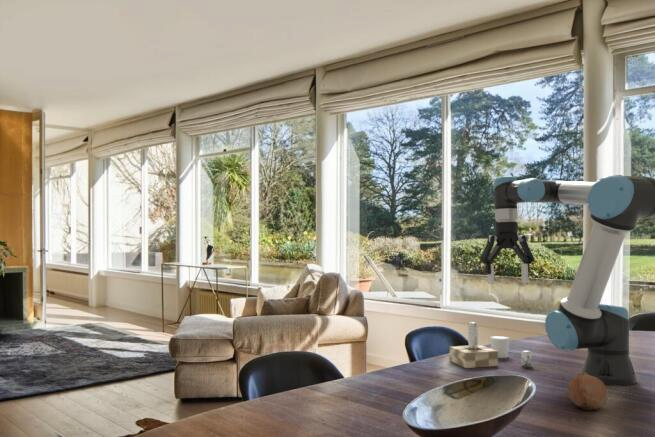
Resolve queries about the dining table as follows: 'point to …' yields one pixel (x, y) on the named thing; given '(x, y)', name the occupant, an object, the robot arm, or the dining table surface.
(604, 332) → the robot arm
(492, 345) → the shot glass
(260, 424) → the dining table surface
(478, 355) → the hole block
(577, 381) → the onion
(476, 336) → the long pin
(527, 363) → the short pin
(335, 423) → the dining table surface
